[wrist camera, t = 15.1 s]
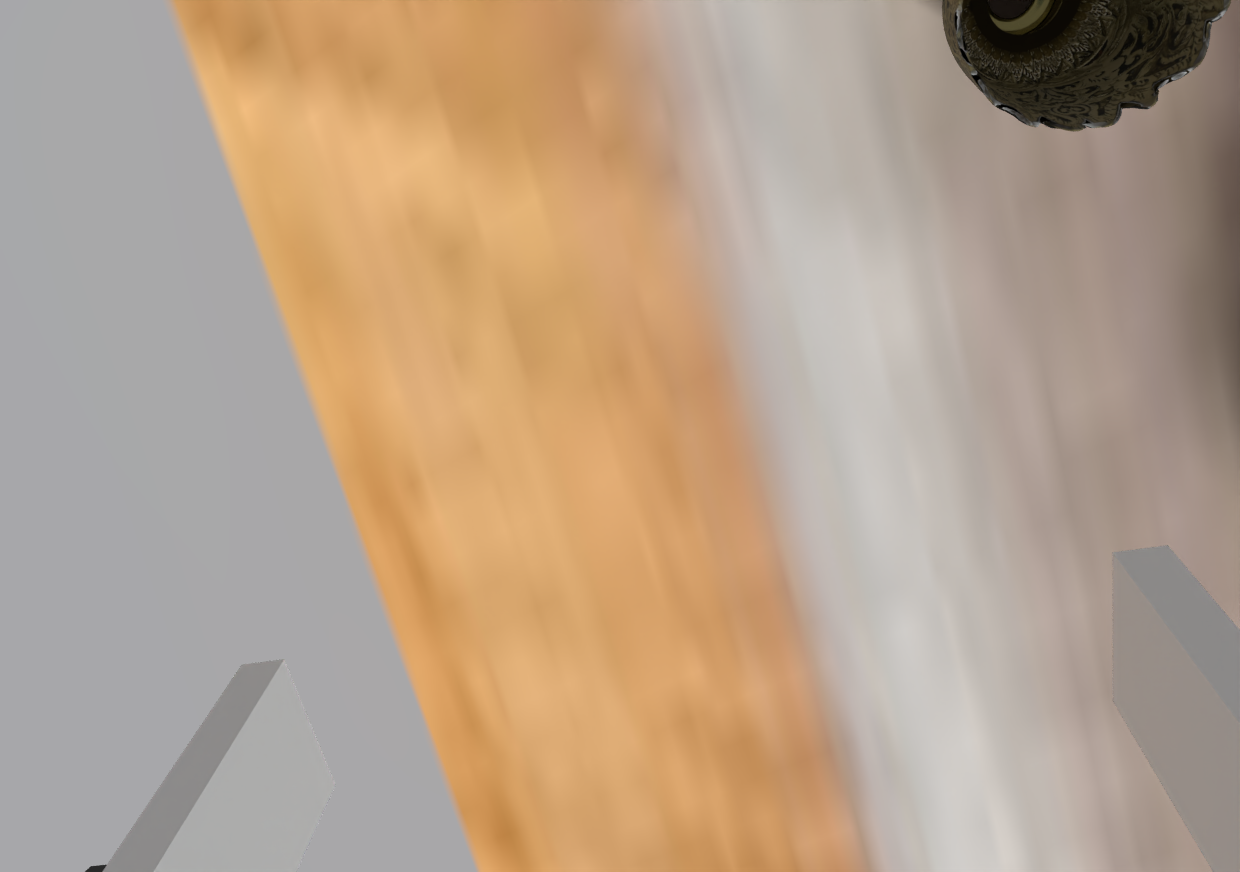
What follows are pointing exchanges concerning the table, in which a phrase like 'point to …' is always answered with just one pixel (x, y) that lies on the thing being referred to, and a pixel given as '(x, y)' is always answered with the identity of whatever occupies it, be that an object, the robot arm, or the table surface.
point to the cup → (1079, 54)
